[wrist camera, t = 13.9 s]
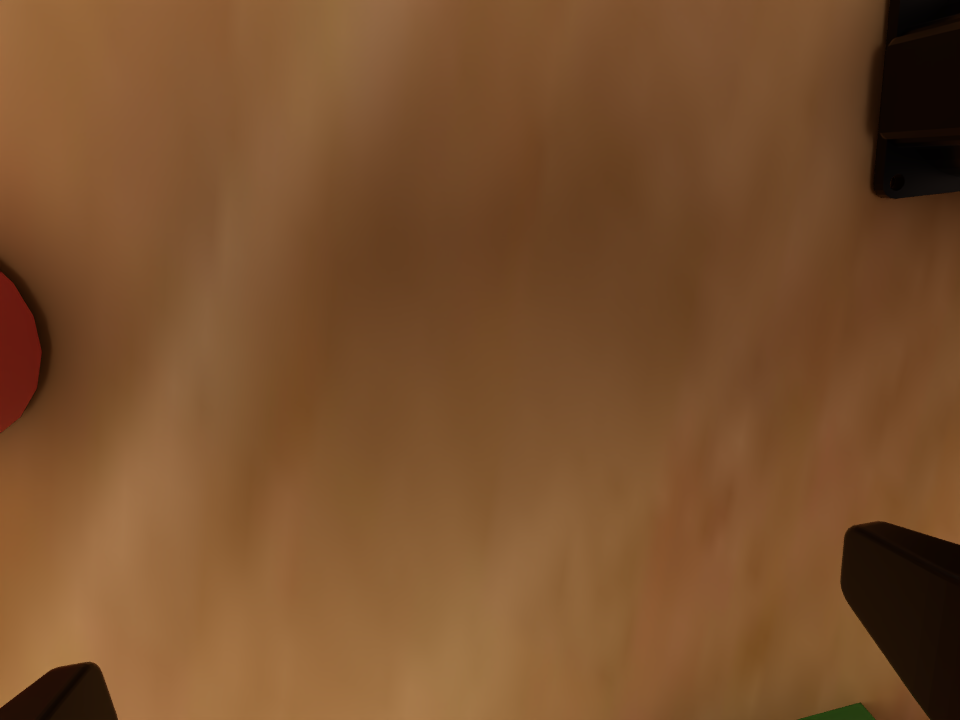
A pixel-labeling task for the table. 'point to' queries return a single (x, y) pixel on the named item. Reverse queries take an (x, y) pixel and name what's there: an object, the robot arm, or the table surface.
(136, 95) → the table surface
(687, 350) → the table surface
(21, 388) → the beer can
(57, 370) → the table surface
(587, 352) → the table surface
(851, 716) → the hardback book
